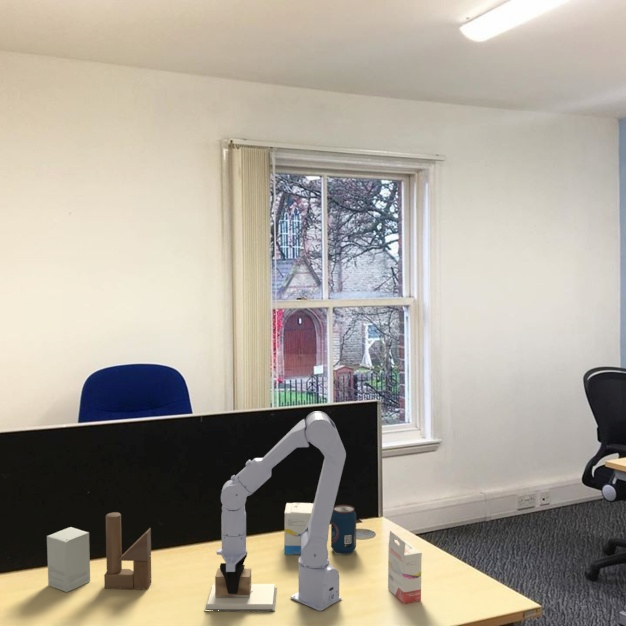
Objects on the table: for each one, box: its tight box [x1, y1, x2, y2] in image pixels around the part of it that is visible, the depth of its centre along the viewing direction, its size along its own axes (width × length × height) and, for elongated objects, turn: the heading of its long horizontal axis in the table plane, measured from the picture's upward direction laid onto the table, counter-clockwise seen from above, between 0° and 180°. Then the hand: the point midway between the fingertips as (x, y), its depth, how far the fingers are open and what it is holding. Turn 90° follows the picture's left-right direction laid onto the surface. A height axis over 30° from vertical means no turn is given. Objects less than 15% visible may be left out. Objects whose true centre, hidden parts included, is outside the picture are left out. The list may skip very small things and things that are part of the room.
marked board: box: [204, 583, 278, 613], centre depth 163 cm, size 16×11×2 cm
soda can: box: [330, 504, 357, 556], centre depth 191 cm, size 7×7×12 cm
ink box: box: [283, 502, 314, 555], centre depth 193 cm, size 9×8×12 cm
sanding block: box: [214, 567, 252, 598], centre depth 163 cm, size 8×4×5 cm, turn 90°
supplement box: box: [46, 526, 91, 593], centre depth 171 cm, size 7×7×13 cm
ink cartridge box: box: [387, 530, 423, 604], centre depth 166 cm, size 9×5×15 cm, turn 21°
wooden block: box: [103, 511, 152, 590], centre depth 170 cm, size 4×11×18 cm, turn 88°
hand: (233, 588), depth 163 cm, fingers closed on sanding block, 4 cm apart
